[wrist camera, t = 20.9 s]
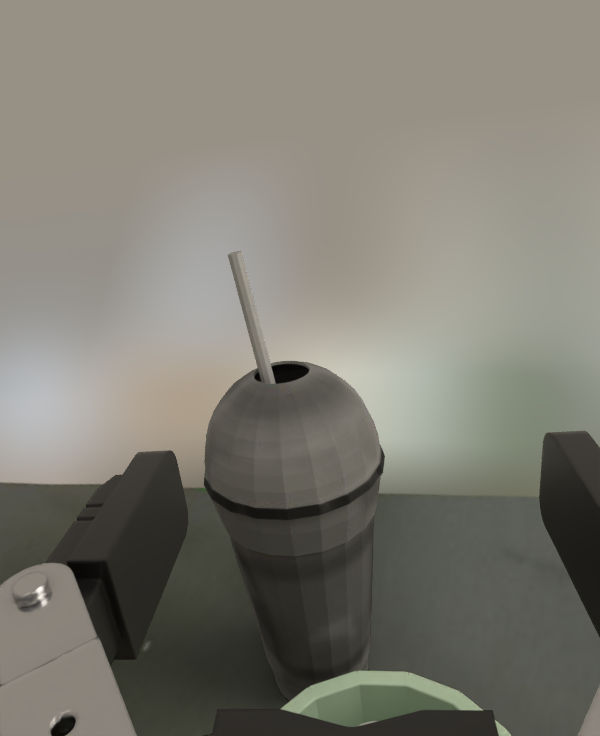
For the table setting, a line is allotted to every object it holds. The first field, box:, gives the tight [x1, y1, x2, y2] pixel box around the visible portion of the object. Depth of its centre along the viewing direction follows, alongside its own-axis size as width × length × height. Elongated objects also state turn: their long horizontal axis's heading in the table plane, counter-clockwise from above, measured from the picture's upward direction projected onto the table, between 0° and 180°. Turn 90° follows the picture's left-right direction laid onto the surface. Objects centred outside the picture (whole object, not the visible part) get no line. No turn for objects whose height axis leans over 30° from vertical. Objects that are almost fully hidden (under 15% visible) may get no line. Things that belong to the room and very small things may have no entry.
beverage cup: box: [204, 251, 385, 701], centre depth 23 cm, size 7×7×20 cm
